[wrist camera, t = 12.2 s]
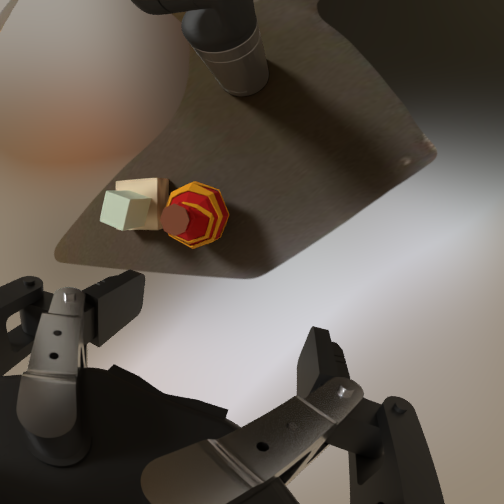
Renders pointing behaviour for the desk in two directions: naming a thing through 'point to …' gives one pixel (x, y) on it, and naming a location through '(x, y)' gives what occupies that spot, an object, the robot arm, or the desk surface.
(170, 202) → the potion bottle
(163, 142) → the desk surface
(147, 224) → the beech base
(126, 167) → the desk surface
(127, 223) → the green block
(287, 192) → the desk surface
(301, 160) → the desk surface
